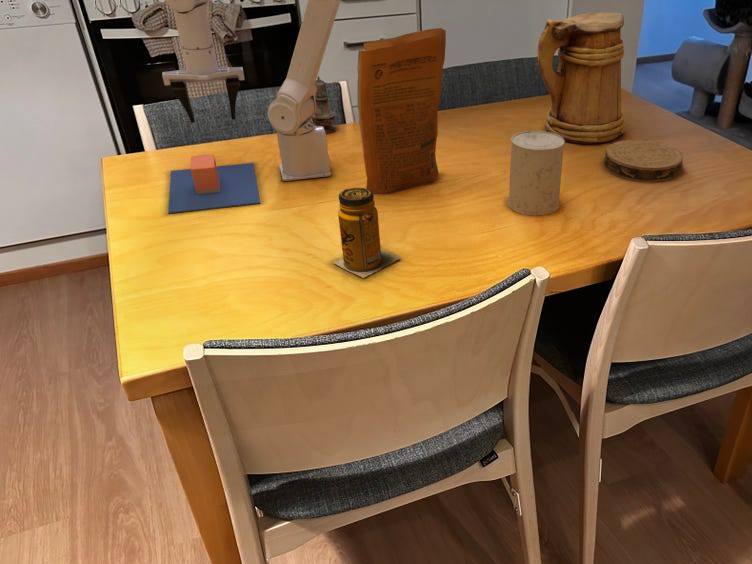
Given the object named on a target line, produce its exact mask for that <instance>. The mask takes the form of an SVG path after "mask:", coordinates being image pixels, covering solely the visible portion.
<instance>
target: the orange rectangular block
mask: <svg viewBox="0 0 752 564" xmlns="http://www.w3.org/2000/svg"><path fill="white" fill-rule="evenodd" d="M217 166H218V165H217V162H216V157H215V153H208V154H197V155H191V156H190V169H191V172H192V177H193V181H194V185H195V189H196V193H197V195H200V194H209V193H219V192H220V182H219V175H218V170H217Z"/></svg>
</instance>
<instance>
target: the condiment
mask: <svg viewBox="0 0 752 564" xmlns="http://www.w3.org/2000/svg"><path fill="white" fill-rule="evenodd" d="M338 202H339V210H338V211H337V212H338V213H337V218H338V224H339V234H340V240H341V241H340V243H341V250H342V251H341V252H342V258H340V259H338V260H336V261H333V262H332V264H333V265H334V264H335V265H336V266H338V267H340V268H341V269H344V270H345V271H348V272H350V273H352V274H354V275H356V276H359V277H361V278H363V279H364V278H366V277H368V276H371V275H372V274H375V273H377V272H378V271H380V270H382V269H383V268H385V267H386V266H389V265H391V264H393V263H395V262H397V261H398V260H400V259H402V256H399V255H396V254H394V253H391V252H388V251H387V250H384V249H382V248H381V237H380V224H379V212H378V209H377V207H376V205H375V202H376V201H375V195H374V193H372V191H370V190H369V189H366V187H348V188H345V189H344V190H342V191H340V192H339V193H338Z"/></svg>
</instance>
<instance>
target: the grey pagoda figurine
mask: <svg viewBox="0 0 752 564" xmlns="http://www.w3.org/2000/svg"><path fill="white" fill-rule="evenodd" d="M320 78H321V77H320V76H319V75H317V78H316V81H315V86H316V88H317V91H316V95H315V101H316V111H315V113H314V115H313V116H312V121H313V124H314V126H323V127H324V130H325V134H332V133H334V132H335V131H337V128H336V127H335V126H334V125H333V124H334V122H335V119H336V116H337V113H336V112H335V111H333V110H331V109H330V105H329V99H330V97H329V95H328V94H327V93H328V92H327V84H326V82H325V80H322V79H320Z"/></svg>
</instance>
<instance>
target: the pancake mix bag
mask: <svg viewBox="0 0 752 564" xmlns="http://www.w3.org/2000/svg"><path fill="white" fill-rule="evenodd" d="M446 43H447V31H446V29H443V28H442V27H437V28H429V29H424V30H418V31H413V32H409V33H405V34H402V35H398V36H395V37H390V38H384V39H379V40H371V41H368V42H364V43H363V47H364V49H359V50H358V56H357V67H356V68H357V95H356V96H357V111H358V123H359V129H360V130H359V131H360V138H361V139H360V140H361V145H362V154H363V155H362V156H363V162H364V167H365V169H364V170H365V175H366V187H365V189H369V190H370V191H372V193H373V194H378V195H385V194H391V193H392V194H393V193H395V192H400V191H404V190H407V189H410V188H414V187H418V186H422V185H427V184H431V183H434V182H435V181H437V180H438V178H439V174H440V173H439V168H438V163H437V158H436V151H437V150H436V149H437V141H438V140H437V139H438V135H439V134H438V129H439V127H438V126H439V125H438V124H439V123H438V118H439V117H438V116H439V115H438V112H439V106H440V101H441V95H442V88H443V75H444V65H445V59H446V46H447V44H446Z"/></svg>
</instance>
